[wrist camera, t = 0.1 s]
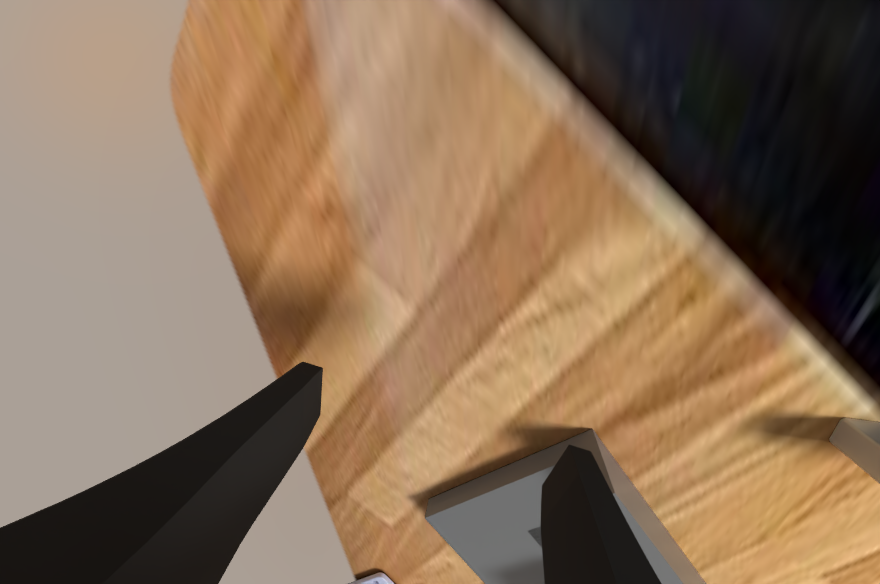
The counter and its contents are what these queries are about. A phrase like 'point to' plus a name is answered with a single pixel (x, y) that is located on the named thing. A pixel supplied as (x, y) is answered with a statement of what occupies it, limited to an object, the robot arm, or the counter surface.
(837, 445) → the lighter
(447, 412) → the counter surface
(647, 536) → the switch panel
